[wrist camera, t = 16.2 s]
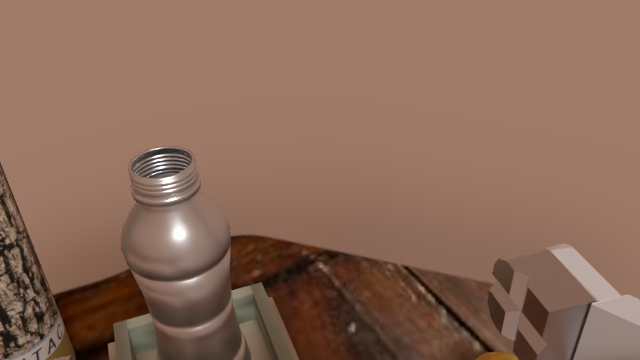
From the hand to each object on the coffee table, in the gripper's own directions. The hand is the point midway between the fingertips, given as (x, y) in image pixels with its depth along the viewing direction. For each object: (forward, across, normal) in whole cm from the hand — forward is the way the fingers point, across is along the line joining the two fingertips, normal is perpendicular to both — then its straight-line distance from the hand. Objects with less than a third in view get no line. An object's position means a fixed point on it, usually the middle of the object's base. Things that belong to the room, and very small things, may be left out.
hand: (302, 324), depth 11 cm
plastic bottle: (+22, +3, +29) cm, 36 cm away
